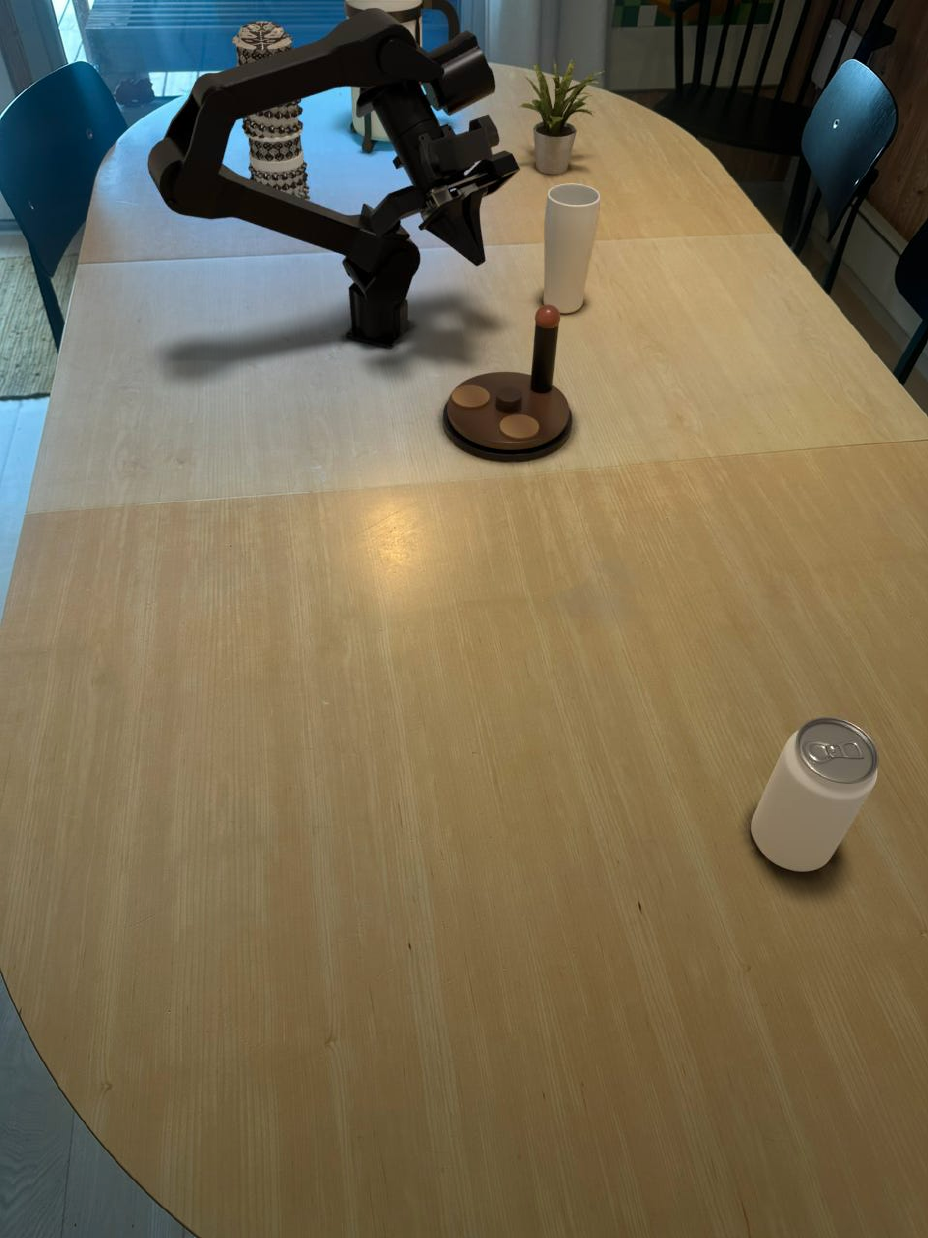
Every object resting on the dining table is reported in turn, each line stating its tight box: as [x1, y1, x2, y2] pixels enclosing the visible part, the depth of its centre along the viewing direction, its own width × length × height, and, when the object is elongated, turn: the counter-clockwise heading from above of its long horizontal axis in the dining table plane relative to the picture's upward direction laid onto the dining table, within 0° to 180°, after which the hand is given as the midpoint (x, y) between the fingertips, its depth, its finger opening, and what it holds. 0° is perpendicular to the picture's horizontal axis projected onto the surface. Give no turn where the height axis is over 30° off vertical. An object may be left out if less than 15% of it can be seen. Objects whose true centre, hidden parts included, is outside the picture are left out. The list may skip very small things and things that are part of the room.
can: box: [750, 716, 880, 872], centre depth 72 cm, size 6×6×12 cm
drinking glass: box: [542, 182, 601, 314], centre depth 126 cm, size 7×7×15 cm
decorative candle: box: [231, 21, 311, 201], centre depth 139 cm, size 9×9×25 cm
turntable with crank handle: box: [447, 304, 570, 450], centre depth 108 cm, size 14×14×11 cm
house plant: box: [517, 58, 605, 176], centre depth 154 cm, size 14×14×16 cm
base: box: [442, 400, 574, 463], centre depth 112 cm, size 15×15×1 cm
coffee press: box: [343, 0, 461, 154], centre depth 158 cm, size 17×16×30 cm
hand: (481, 263), depth 111 cm, fingers closed
